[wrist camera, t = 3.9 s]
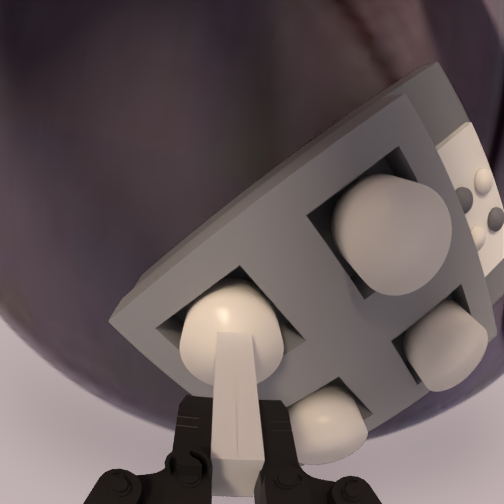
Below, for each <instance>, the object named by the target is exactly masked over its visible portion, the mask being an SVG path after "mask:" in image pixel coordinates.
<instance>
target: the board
mask: <svg viewBox="0 0 504 504" xmlns="http://www.w3.org/2000/svg"><path fill="white" fill-rule="evenodd" d="M373 173H384V174H389V175H393V176H396V177H400V178H403V179H407V180H410V181H413V182H417V183H420V184H423V185H426V186H428V187H430V188H432V189H433V190H434V191H435V192H437V193H438V194H439V195H440V196H441V198H442V199H443V201H444V202H445V204H446V206H447V208H448V211H449V213H450V218H451V224H452V237H451V243H450V248H449V251H448V254H447V256H446V259H445V261H444V263H443V264H442V266H441V268H440V269H439V271H438V272H437V273H436V274H435V276H434V277H433V278H432V279H431V280H430V281H429V282H428V283H426V284H425V285H424V286H422V287H421V288H419V289H417V290H415V291H413V292H411V293H408V294H404V295H398V296H391V295H385V294H381V293H379V292H377V291H375V290H373V289H372V288H370V287H369V286H368V285H367V284H366V283H365V282H364V281H363V279H362V278H361V277H360V276H359V275H358V274H357V272H356V271H355V270H354V269H353V268H352V267H351V265H350V264H349V263H348V262H347V261H346V260H345V259H344V257H343V256H342V255H341V254H340V253H339V251H338V249H337V248H336V245H335V243H334V240H333V236H332V230H331V222H332V215H333V211H334V208H335V205H336V203H337V201H338V199H339V197H340V195H341V194H342V193H343V191H344V190H345V189H346V188H347V187H348V186H349V185H350V184H351V183H352V182H354V181H355V180H357V179H358V178H360V177H362V176H365V175H368V174H373ZM225 278H237V279H243V280H247V281H250V282H252V283H254V284H256V285H258V286H259V288H260V289H261V290H262V291H263V292H264V293H265V294H266V296H267V297H268V298H269V299H270V300H271V301H272V302H273V304H274V307H275V310H276V315H277V319H278V323H279V327H280V331H281V335H282V339H283V344H284V352H283V357H282V360H281V362H280V364H279V366H278V367H277V369H276V370H275V371H274V372H273V373H272V374H271V375H270V376H269V377H268V378H266V379H265V380H263V381H261V382H260V383H258V384H257V392H258V400H281V401H282V402H283V404H284V405H285V406H286V407H288V406H290V405H292V404H293V403H295V402H297V401H299V400H301V399H302V398H304V397H306V396H307V395H309V394H311V393H313V392H314V391H316V390H318V389H319V388H321V387H323V386H338V387H342V388H345V389H347V390H348V391H349V392H351V394H352V395H353V397H354V400H355V402H356V404H357V407H358V409H359V411H360V414H361V416H362V419H363V421H364V423H365V426H366V428H367V431H368V432H369V431H371V430H372V429H374V428H376V427H377V426H379V425H381V424H382V423H384V422H386V421H387V420H389V419H390V418H392V417H393V416H395V415H397V414H398V413H400V412H401V411H403V410H404V409H406V408H407V407H409V406H410V405H412V404H413V403H414V402H416V401H417V400H419V399H420V398H422V397H423V396H424V395H426V394H427V393H428V392H430V391H431V390H429V389H428V388H427V387H426V386H425V384H424V383H423V381H422V380H421V378H420V377H419V376H418V374H417V373H416V371H415V370H414V368H413V367H412V365H411V364H410V362H409V361H408V360H407V358H406V357H405V355H404V352H403V340H404V337H405V334H406V332H407V329H408V328H409V327H410V326H411V325H413V324H414V323H415V322H417V321H418V320H419V319H420V318H422V317H423V316H424V315H425V314H427V313H428V312H429V311H430V310H431V309H433V308H434V307H435V306H436V305H437V304H439V303H440V302H441V301H442V300H452V301H454V302H456V303H457V304H458V305H460V306H461V307H462V308H463V309H464V310H465V311H466V312H467V313H469V314H470V315H471V316H472V317H473V318H474V319H475V320H476V321H477V322H478V323H480V324H481V325H482V326H483V327H484V328H485V329H486V331H487V334H488V343H489V342H490V341H491V340H492V339H493V338H494V337H495V336H496V335H497V330H496V325H495V319H494V314H493V310H492V305H493V304H494V303H495V302H496V301H497V300H498V299H499V298H500V297H501V296H502V295H503V294H504V209H503V206H502V202H501V199H500V196H499V193H498V189H497V186H496V183H495V180H494V177H493V174H492V172H491V169H490V166H489V163H488V161H487V158H486V155H485V153H484V150H483V148H482V145H481V143H480V141H479V138H478V136H477V134H476V131H475V129H474V127H473V125H472V122H470V121H469V118H468V116H467V114H466V112H465V110H464V108H463V106H462V104H461V102H460V100H459V98H458V96H457V94H456V92H455V91H454V89H453V87H452V85H451V83H450V81H449V80H448V78H447V76H446V74H445V73H444V71H443V69H442V68H441V66H440V64H439V63H438V62H434V63H431V64H427V65H424V66H420V67H419V68H417V69H416V70H414V71H413V72H411V73H409V74H408V75H406V76H405V77H403V78H402V79H400V80H399V81H397V82H395V83H394V84H392V85H391V86H389V87H388V88H386V89H385V90H383V91H382V92H380V93H379V94H377V95H376V96H374V97H373V98H371V99H370V100H368V101H367V102H365V103H364V104H363V105H361V106H360V107H358V108H357V109H355V110H354V111H352V112H351V113H349V114H348V115H347V116H345V117H344V118H342V119H341V120H339V121H338V122H337V123H335V124H334V125H332V126H331V127H329V128H328V129H327V130H325V131H324V132H322V133H321V134H320V135H318V136H317V137H315V138H314V139H313V140H311V141H310V142H309V143H307V144H306V145H304V146H303V147H302V148H300V149H299V150H298V151H296V152H295V153H294V154H292V155H291V156H289V157H288V158H287V159H285V160H284V161H283V162H281V163H280V164H279V165H277V166H276V167H275V168H273V169H272V170H271V171H269V172H268V173H267V174H265V175H264V176H263V177H262V178H260V179H259V180H258V181H256V182H255V183H254V184H252V185H251V186H250V187H248V188H247V189H246V190H245V191H243V192H242V193H241V194H239V195H238V196H237V197H236V198H234V199H233V200H232V201H231V202H229V203H228V204H227V205H225V206H224V207H223V208H222V209H220V210H219V211H218V212H217V213H215V214H214V215H213V216H212V217H210V218H209V219H208V220H207V221H205V222H204V223H203V224H202V225H201V226H199V227H198V228H197V229H196V230H194V231H193V232H192V233H191V234H190V235H188V236H187V237H186V238H185V239H183V240H182V241H181V242H180V243H179V244H177V245H176V246H175V247H174V248H173V249H171V250H170V251H169V252H168V253H167V254H165V255H164V256H163V257H162V258H161V259H160V260H158V261H157V262H156V263H155V264H154V265H152V266H151V267H150V268H149V269H148V270H147V271H145V272H144V273H143V274H142V275H141V277H140V278H139V280H138V282H137V283H136V285H135V287H134V288H133V289H132V290H131V291H130V292H129V293H128V294H127V295H126V296H124V297H123V298H122V299H121V301H120V303H119V304H118V306H117V307H116V309H115V311H114V312H113V314H112V316H111V317H110V319H109V321H108V322H109V323H110V324H111V325H112V326H113V327H114V328H115V329H116V330H117V331H119V332H120V333H121V334H122V335H123V336H124V337H125V338H126V339H127V340H128V341H129V342H130V343H131V344H132V345H134V346H135V347H136V348H137V349H138V350H139V351H140V352H141V353H142V354H143V355H145V356H146V357H147V358H148V359H149V360H150V361H151V362H153V363H154V364H155V365H156V366H157V367H158V368H160V369H161V370H162V371H163V372H164V373H166V374H167V375H168V376H169V377H170V378H172V379H173V380H174V381H175V382H176V383H178V384H179V385H180V386H181V387H183V388H184V389H185V390H187V391H188V392H189V393H190V394H192V395H193V396H200V397H211V398H213V386H212V385H209V384H207V383H204V382H202V381H201V380H199V379H198V378H196V377H195V376H194V375H193V374H191V373H190V372H189V370H188V369H187V368H186V366H185V365H184V363H183V361H182V359H181V355H180V348H179V347H180V340H181V335H182V331H183V327H184V322H185V318H186V314H187V310H188V306H189V303H190V302H191V301H192V300H194V299H195V298H196V297H198V296H199V295H200V294H202V293H203V292H204V291H206V290H207V289H209V288H210V287H211V286H213V285H214V284H215V283H217V282H218V281H219V280H221V279H225ZM488 343H487V344H488ZM299 465H300V466H302V465H304V464H302V463H299Z"/></svg>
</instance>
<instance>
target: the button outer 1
mask: <svg viewBox="0 0 504 504" xmlns="http://www.w3.org/2000/svg"><path fill="white" fill-rule="evenodd" d="M286 408H287V409H288V412H289V417H290V423H291V427H292V432H293V437H294V442H295V447H296V452H297V458H298V462H299V463H302V464H308V465H320V464H327V463H331V462H335V461H338V460H340V459H342V458H345V457H347V456H349V455H350V454H352V453H353V452H355V451H356V450H358V449H359V448H360V447H361V446H362V445H363V443H364V442H365V440H366V438H367V435H368V431H367V428H366V426H365V423H364V421H363V419H362V416H361V414H360V411H359V409H358V407H357V404H356V402H355V400H354V397H353V395H352V394H351V392H349V391H348V390H347V389H345V388H342V387H338V386H323V387H321V388H319V389H318V390H316V391H314V392H313V393H311V394H309V395H307V396H306V397H304V398H302V399H301V400H299V401H297V402H295V403H293V404H292V405H290V406H288V407H286Z"/></svg>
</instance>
